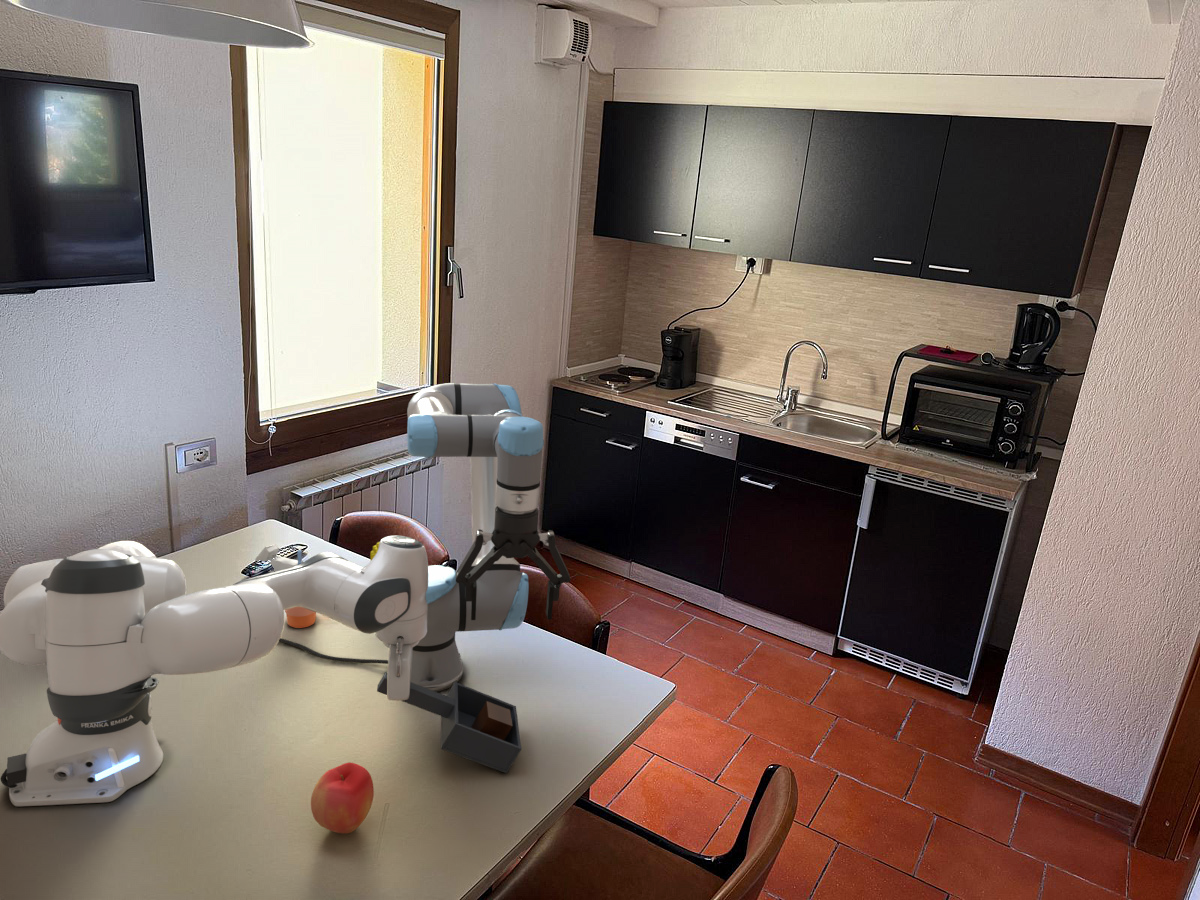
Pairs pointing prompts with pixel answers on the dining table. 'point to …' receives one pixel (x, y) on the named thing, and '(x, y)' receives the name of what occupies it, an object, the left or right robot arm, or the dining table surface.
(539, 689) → the dining table surface
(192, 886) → the dining table surface
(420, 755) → the dining table surface
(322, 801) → the apple
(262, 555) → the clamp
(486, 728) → the walnut block
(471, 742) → the scoop
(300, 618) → the cup with straw
